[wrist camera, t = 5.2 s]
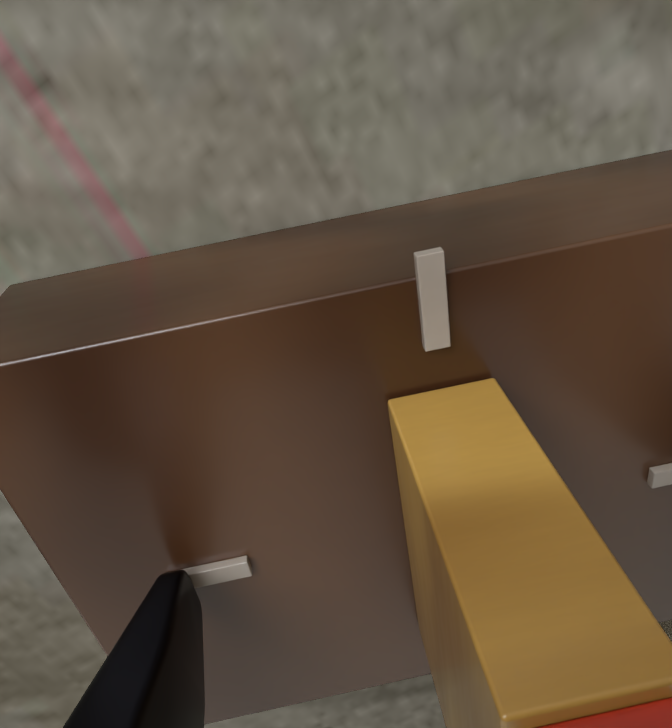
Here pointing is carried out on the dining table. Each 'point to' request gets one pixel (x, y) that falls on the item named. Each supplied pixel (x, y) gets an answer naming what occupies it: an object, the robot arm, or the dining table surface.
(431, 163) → the dining table surface
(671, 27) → the dining table surface
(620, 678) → the lock knob
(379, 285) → the panel
